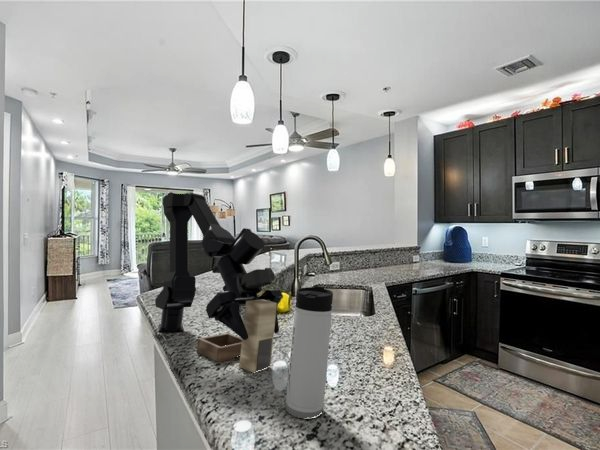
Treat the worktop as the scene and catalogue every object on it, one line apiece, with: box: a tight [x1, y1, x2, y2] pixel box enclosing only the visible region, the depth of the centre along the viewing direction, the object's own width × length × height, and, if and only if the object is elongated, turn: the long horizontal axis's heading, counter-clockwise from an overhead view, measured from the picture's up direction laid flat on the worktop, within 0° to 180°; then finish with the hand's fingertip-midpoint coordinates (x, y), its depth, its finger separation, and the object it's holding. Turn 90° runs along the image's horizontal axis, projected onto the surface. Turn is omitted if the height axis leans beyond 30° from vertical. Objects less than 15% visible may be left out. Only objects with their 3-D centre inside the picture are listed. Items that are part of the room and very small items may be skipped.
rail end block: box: [238, 299, 278, 374], centre depth 69 cm, size 5×5×14 cm
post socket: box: [196, 332, 242, 363], centre depth 76 cm, size 8×9×3 cm
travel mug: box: [284, 285, 334, 419], centre depth 54 cm, size 6×7×20 cm
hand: (262, 335), depth 69 cm, fingers open, 9 cm apart
